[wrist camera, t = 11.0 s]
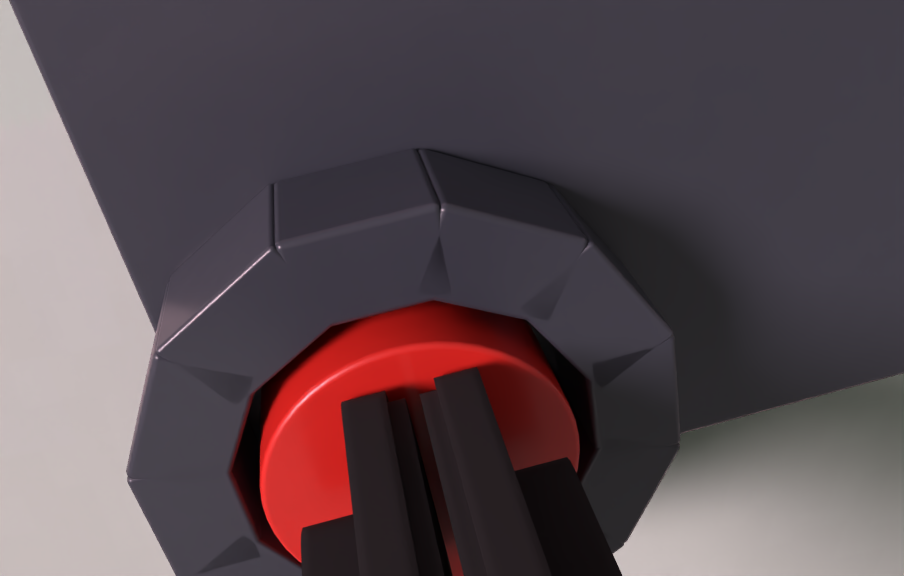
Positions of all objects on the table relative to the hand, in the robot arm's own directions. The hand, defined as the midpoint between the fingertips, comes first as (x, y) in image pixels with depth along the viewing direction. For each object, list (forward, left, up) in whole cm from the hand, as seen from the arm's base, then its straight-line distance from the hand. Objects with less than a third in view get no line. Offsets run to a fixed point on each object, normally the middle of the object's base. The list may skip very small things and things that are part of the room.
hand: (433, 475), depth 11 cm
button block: (+3, +2, -4) cm, 6 cm away
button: (0, 0, -2) cm, 2 cm away
